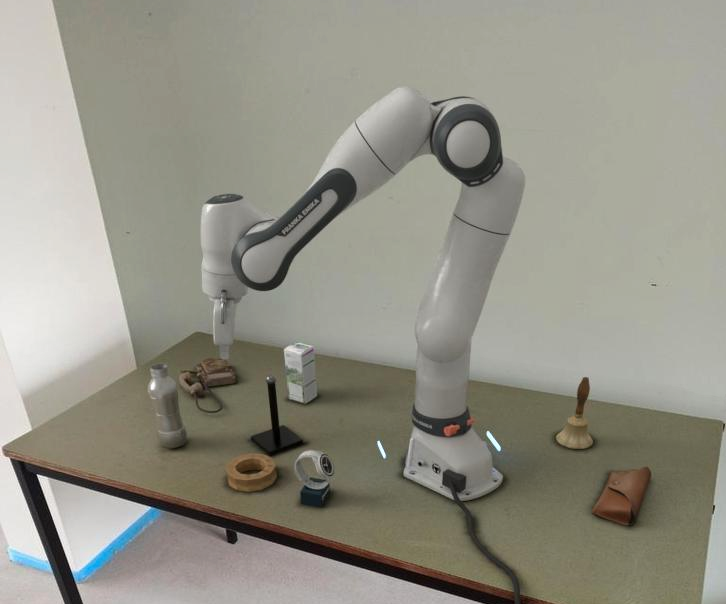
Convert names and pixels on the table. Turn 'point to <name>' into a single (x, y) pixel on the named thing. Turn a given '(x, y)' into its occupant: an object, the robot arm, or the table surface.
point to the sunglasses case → (623, 496)
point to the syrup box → (300, 372)
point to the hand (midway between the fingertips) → (225, 347)
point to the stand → (275, 428)
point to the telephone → (208, 378)
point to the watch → (314, 487)
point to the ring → (253, 480)
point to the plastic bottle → (166, 407)
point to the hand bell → (577, 422)
